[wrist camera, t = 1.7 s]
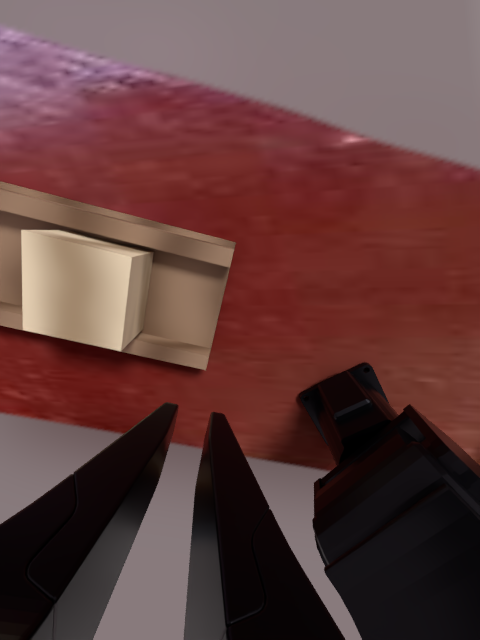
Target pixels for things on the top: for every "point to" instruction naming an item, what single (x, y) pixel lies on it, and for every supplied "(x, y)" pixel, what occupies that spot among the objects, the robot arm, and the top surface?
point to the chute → (165, 280)
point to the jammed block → (83, 287)
